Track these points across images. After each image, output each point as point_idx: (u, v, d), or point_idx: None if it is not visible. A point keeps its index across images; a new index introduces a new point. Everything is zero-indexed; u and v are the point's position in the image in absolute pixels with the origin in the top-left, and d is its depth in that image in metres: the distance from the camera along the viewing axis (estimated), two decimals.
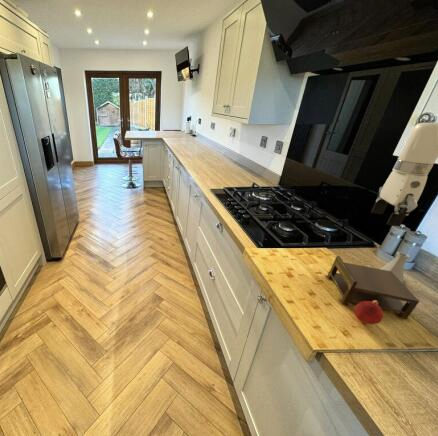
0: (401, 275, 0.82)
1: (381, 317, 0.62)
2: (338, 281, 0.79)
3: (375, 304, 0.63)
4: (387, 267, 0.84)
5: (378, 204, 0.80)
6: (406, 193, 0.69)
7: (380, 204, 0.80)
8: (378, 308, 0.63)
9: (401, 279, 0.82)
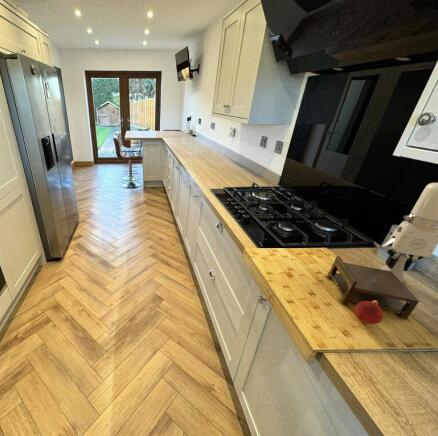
0: (401, 275, 0.82)
1: (381, 317, 0.62)
2: (338, 281, 0.79)
3: (375, 304, 0.63)
4: (387, 267, 0.84)
5: None
6: (393, 235, 0.81)
7: None
8: (378, 308, 0.63)
9: (401, 279, 0.82)
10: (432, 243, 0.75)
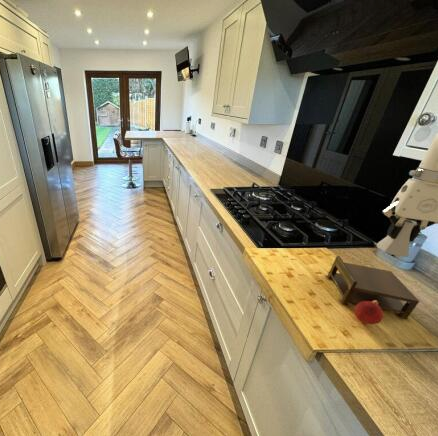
0: (406, 246, 0.67)
1: (381, 317, 0.62)
2: (338, 281, 0.79)
3: (375, 304, 0.63)
4: (389, 238, 0.69)
5: None
6: (396, 197, 0.66)
7: None
8: (378, 308, 0.63)
9: (406, 251, 0.67)
10: None
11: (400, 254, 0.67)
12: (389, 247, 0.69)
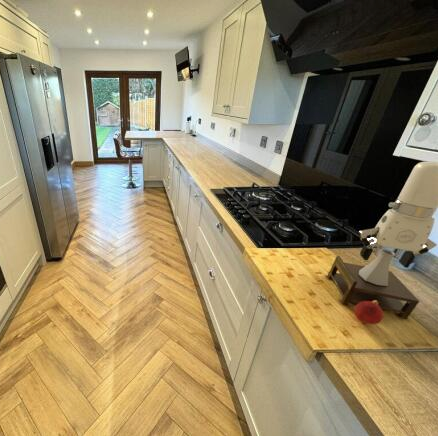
0: (385, 276, 0.70)
1: (381, 317, 0.62)
2: (338, 281, 0.79)
3: (375, 304, 0.63)
4: (370, 267, 0.72)
5: (405, 253, 0.69)
6: (377, 226, 0.68)
7: (406, 254, 0.68)
8: (378, 308, 0.63)
9: (385, 281, 0.70)
10: (423, 235, 0.62)
11: (380, 283, 0.70)
12: (369, 276, 0.71)
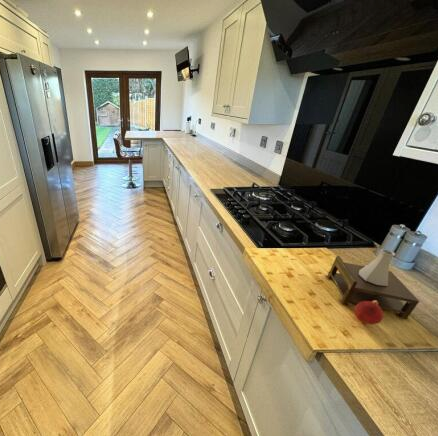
0: (385, 276, 0.70)
1: (381, 317, 0.62)
2: (338, 281, 0.79)
3: (375, 304, 0.63)
4: (370, 267, 0.72)
5: None
6: None
7: None
8: (378, 308, 0.63)
9: (385, 281, 0.70)
10: None
11: (380, 283, 0.70)
12: (369, 276, 0.71)
